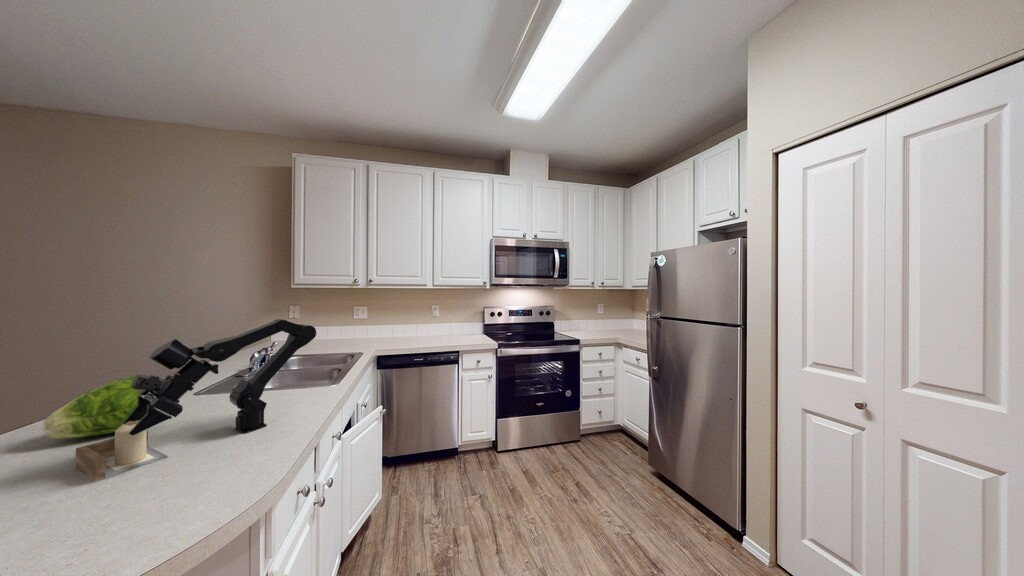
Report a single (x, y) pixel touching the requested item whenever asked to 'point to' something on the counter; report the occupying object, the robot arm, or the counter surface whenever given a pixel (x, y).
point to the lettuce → (94, 412)
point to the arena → (108, 459)
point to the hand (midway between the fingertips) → (127, 430)
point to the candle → (129, 444)
